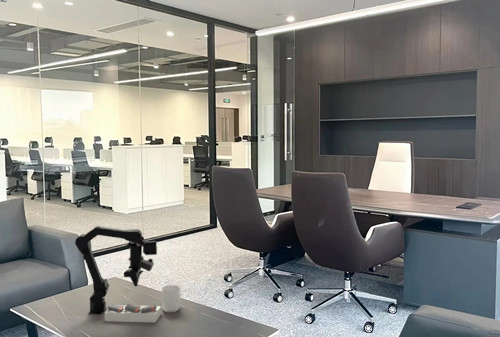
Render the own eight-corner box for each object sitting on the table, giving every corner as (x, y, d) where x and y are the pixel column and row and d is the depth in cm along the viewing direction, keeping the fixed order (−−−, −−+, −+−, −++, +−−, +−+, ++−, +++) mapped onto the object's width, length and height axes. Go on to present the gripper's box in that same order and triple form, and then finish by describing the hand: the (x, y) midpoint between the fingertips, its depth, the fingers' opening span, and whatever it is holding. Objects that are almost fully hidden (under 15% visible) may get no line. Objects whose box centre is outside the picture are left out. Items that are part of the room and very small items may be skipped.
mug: (172, 314, 209) (173, 291, 209) (158, 311, 213) (158, 289, 213) (186, 306, 220) (186, 284, 220) (172, 303, 224) (172, 282, 224)
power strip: (104, 321, 200) (104, 312, 200) (112, 312, 210) (112, 304, 210) (155, 322, 199) (155, 313, 199) (160, 314, 209) (160, 305, 209)
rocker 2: (124, 309, 201) (125, 306, 201) (126, 307, 204) (127, 303, 204) (137, 314, 201) (138, 310, 201) (139, 311, 204) (140, 308, 204)
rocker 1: (107, 309, 201) (108, 306, 201) (110, 307, 205) (110, 303, 204) (120, 313, 201) (121, 309, 201) (122, 310, 204) (123, 307, 204)
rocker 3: (141, 313, 201) (140, 310, 200) (143, 311, 204) (142, 307, 204) (154, 310, 200) (153, 307, 200) (156, 308, 203) (155, 305, 203)
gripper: (146, 260, 204) (146, 292, 204) (156, 251, 222) (156, 280, 223) (123, 259, 204) (123, 292, 205) (135, 250, 223) (135, 280, 224)
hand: (135, 286), depth 214 cm, fingers closed
